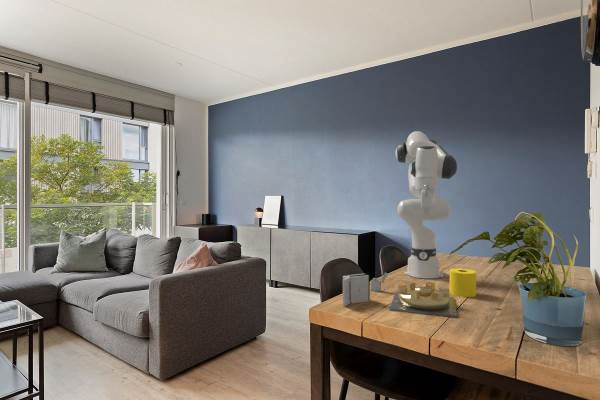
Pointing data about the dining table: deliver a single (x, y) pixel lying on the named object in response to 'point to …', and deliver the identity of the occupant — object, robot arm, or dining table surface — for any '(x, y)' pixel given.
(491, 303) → the dining table surface
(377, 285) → the grey angled block
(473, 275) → the yellow toilet paper roll
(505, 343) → the dining table surface
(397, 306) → the base plate
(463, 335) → the dining table surface
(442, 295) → the gold radial fin assembly
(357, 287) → the grey and black block
